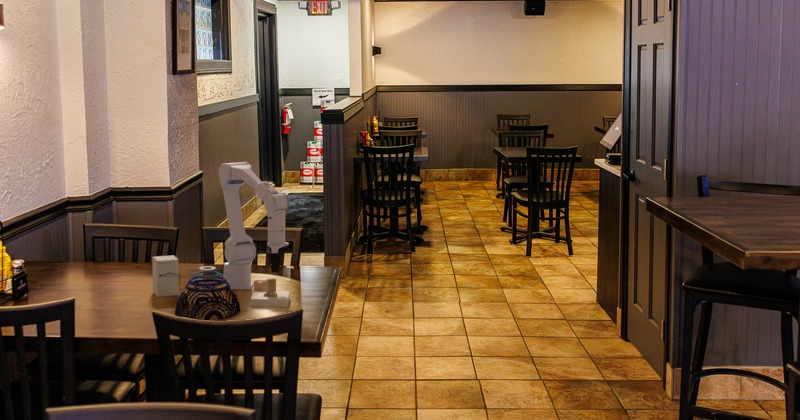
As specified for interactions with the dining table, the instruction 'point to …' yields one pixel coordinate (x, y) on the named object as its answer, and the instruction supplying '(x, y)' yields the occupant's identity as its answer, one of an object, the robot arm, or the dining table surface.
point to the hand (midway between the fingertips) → (276, 269)
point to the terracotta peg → (259, 285)
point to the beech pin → (270, 287)
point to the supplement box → (165, 276)
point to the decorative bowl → (208, 316)
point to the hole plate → (270, 299)
